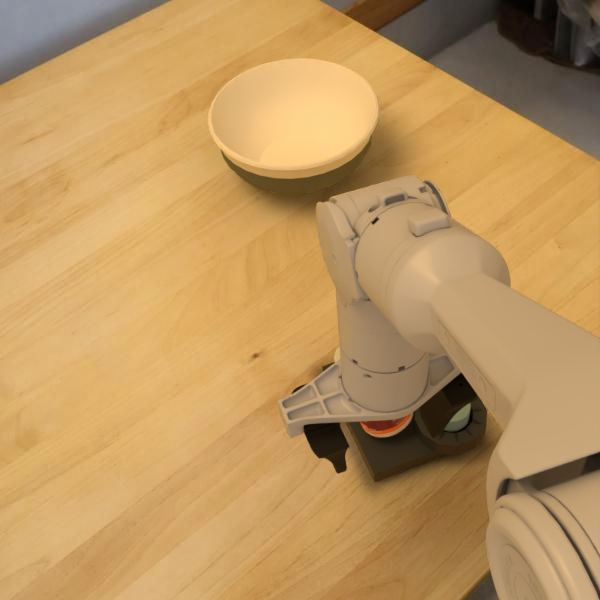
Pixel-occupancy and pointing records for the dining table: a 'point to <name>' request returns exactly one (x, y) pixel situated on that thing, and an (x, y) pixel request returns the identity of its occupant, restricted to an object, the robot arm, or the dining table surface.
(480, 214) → the dining table surface
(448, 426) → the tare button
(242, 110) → the bowl
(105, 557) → the dining table surface
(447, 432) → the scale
